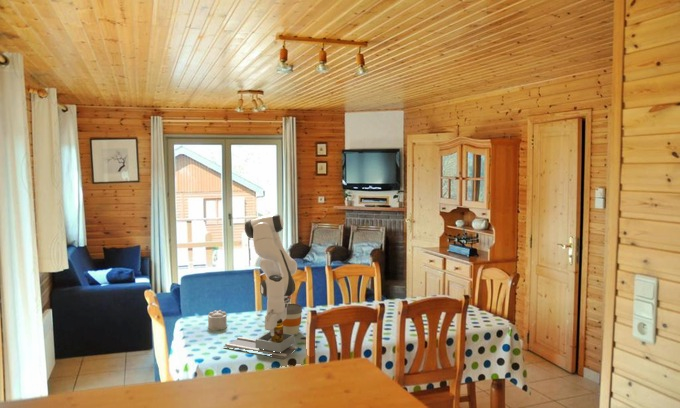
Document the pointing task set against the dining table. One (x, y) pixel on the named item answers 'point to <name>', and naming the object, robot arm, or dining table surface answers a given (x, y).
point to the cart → (274, 346)
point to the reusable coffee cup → (292, 319)
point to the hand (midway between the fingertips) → (275, 333)
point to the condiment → (278, 332)
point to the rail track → (251, 345)
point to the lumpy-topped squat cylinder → (217, 320)
